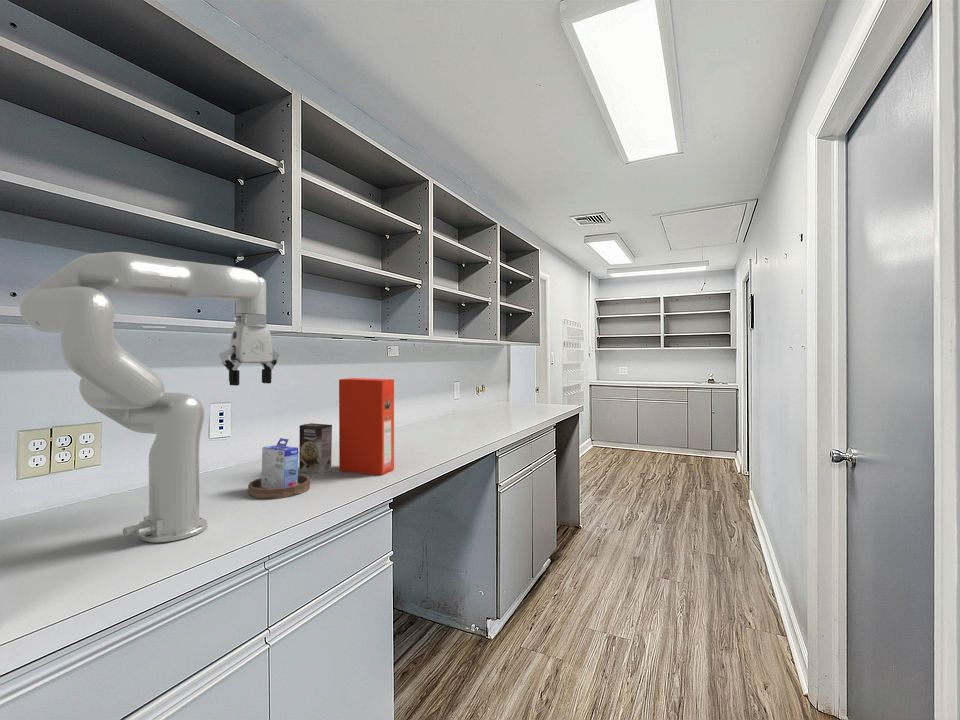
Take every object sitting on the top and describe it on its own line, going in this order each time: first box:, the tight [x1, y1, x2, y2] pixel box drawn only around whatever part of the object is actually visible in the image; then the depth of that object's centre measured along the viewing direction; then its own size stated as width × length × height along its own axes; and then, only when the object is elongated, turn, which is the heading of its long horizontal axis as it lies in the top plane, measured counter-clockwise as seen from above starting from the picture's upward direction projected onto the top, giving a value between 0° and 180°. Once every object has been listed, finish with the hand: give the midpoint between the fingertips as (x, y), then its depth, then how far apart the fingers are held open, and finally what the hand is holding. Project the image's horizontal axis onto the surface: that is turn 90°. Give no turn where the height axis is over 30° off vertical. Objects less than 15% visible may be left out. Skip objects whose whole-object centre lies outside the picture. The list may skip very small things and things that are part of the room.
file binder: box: [338, 377, 395, 476], centre depth 158 cm, size 8×17×32 cm, turn 70°
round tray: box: [247, 473, 311, 500], centre depth 135 cm, size 17×17×3 cm
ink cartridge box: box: [261, 437, 299, 489], centre depth 135 cm, size 10×6×14 cm, turn 64°
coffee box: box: [298, 422, 333, 475], centre depth 157 cm, size 9×6×16 cm
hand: (251, 384), depth 124 cm, fingers open, 9 cm apart
